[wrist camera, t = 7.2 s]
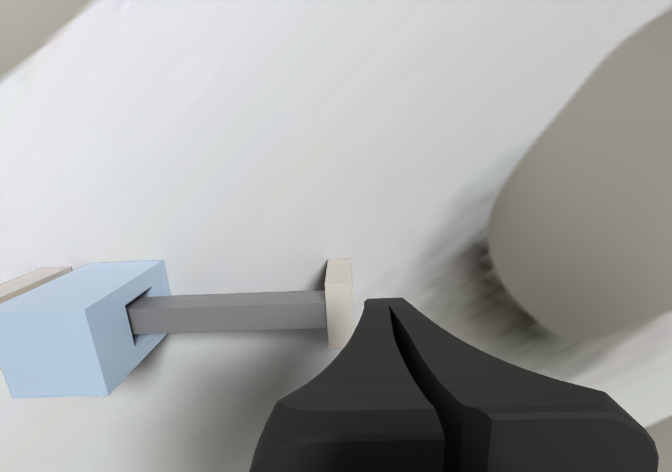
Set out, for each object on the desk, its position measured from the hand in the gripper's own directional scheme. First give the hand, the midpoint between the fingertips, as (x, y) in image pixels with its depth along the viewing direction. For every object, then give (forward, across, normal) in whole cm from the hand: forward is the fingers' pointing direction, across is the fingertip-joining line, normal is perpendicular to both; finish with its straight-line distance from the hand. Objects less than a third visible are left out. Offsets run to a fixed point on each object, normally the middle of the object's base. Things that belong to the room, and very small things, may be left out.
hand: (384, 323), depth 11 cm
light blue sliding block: (+10, +16, +3) cm, 19 cm away
